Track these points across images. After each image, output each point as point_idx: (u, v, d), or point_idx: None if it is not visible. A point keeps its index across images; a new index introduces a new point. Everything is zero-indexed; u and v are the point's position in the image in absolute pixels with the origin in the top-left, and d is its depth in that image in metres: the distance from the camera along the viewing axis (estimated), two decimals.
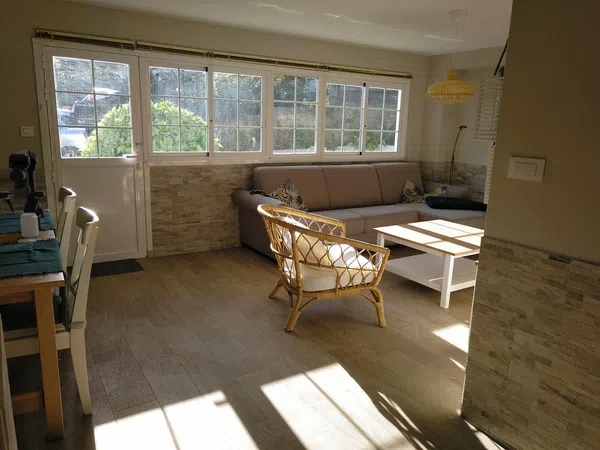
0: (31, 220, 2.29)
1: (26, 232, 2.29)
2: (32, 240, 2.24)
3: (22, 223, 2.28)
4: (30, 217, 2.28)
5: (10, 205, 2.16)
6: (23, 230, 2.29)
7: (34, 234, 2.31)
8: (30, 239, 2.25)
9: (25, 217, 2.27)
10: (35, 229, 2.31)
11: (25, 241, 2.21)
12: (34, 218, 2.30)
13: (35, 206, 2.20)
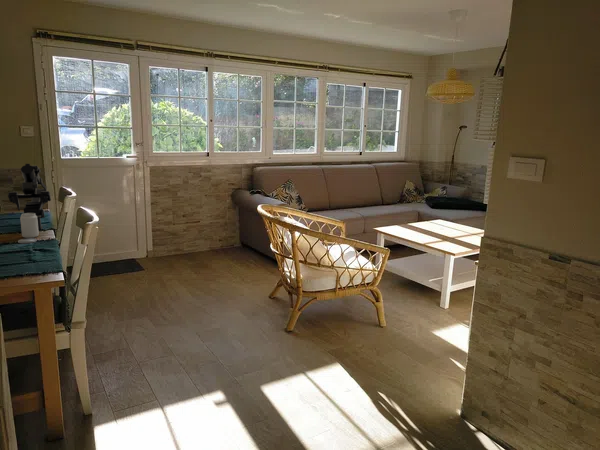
0: (31, 220, 2.29)
1: (26, 232, 2.29)
2: (32, 240, 2.24)
3: (22, 223, 2.28)
4: (30, 217, 2.28)
5: (17, 203, 2.32)
6: (23, 230, 2.29)
7: (34, 234, 2.31)
8: (30, 239, 2.25)
9: (25, 217, 2.27)
10: (35, 229, 2.31)
11: (25, 241, 2.21)
12: (34, 218, 2.30)
13: (40, 204, 2.35)
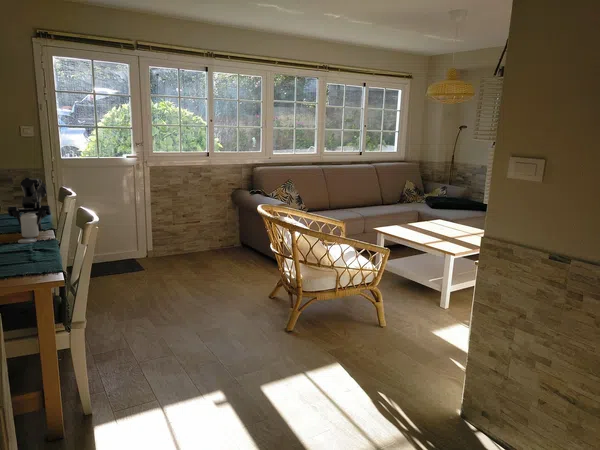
0: (31, 220, 2.29)
1: (26, 232, 2.29)
2: (32, 240, 2.24)
3: (22, 223, 2.28)
4: (30, 217, 2.28)
5: (18, 217, 2.29)
6: (23, 230, 2.29)
7: (34, 234, 2.31)
8: (30, 239, 2.25)
9: (25, 217, 2.27)
10: (35, 229, 2.31)
11: (25, 241, 2.21)
12: (34, 218, 2.30)
13: (38, 218, 2.32)
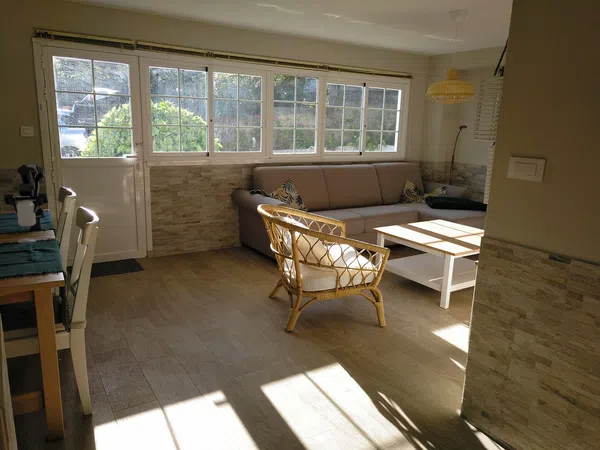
0: (28, 208, 2.22)
1: (22, 220, 2.22)
2: (32, 240, 2.24)
3: (18, 211, 2.21)
4: (27, 205, 2.22)
5: (14, 205, 2.23)
6: (19, 218, 2.22)
7: (31, 222, 2.24)
8: (30, 239, 2.25)
9: (22, 204, 2.21)
10: (32, 217, 2.24)
11: (25, 241, 2.21)
12: (31, 206, 2.23)
13: (35, 206, 2.26)
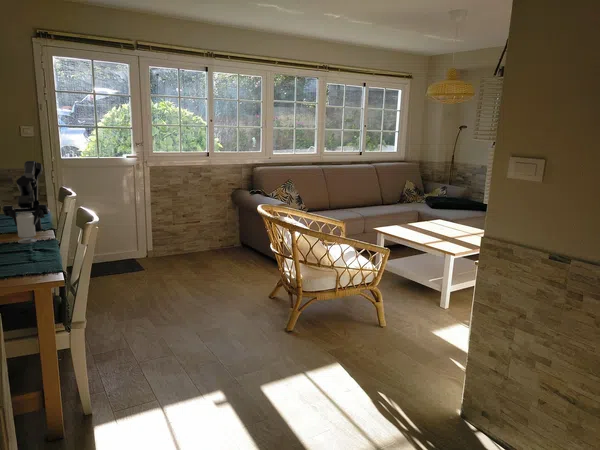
0: (27, 220, 2.19)
1: (22, 232, 2.19)
2: (32, 240, 2.24)
3: (18, 223, 2.19)
4: (26, 217, 2.19)
5: (14, 217, 2.20)
6: (19, 230, 2.19)
7: (31, 234, 2.22)
8: (30, 239, 2.25)
9: (21, 217, 2.18)
10: (32, 229, 2.22)
11: (25, 241, 2.21)
12: (31, 218, 2.20)
13: (35, 218, 2.23)
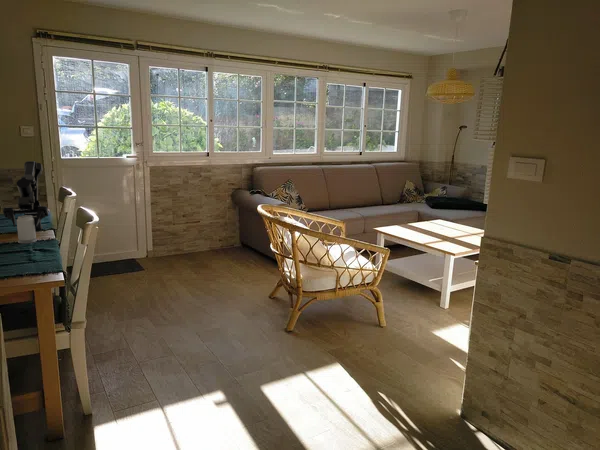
0: (28, 223, 2.20)
1: (22, 235, 2.20)
2: (32, 240, 2.24)
3: (18, 226, 2.19)
4: (27, 220, 2.19)
5: (12, 219, 2.20)
6: (19, 233, 2.20)
7: (31, 237, 2.22)
8: None
9: (21, 220, 2.18)
10: (32, 232, 2.22)
11: (25, 241, 2.21)
12: (31, 221, 2.21)
13: (37, 219, 2.23)
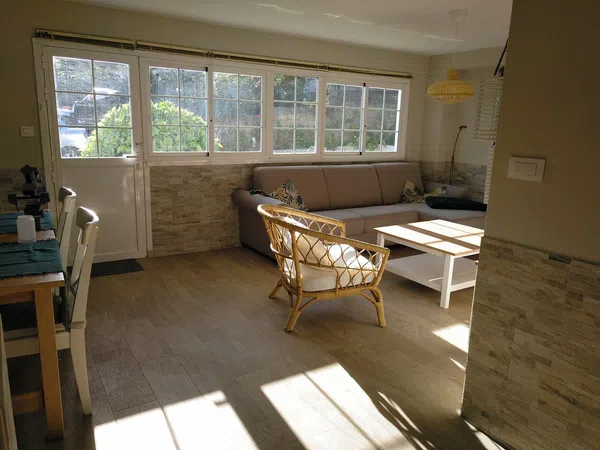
0: (28, 223, 2.20)
1: (22, 235, 2.20)
2: None
3: (18, 226, 2.19)
4: (27, 220, 2.19)
5: (16, 204, 2.30)
6: (19, 233, 2.20)
7: (31, 237, 2.22)
8: None
9: (22, 220, 2.19)
10: (32, 232, 2.22)
11: (25, 241, 2.21)
12: (31, 221, 2.21)
13: (39, 205, 2.34)
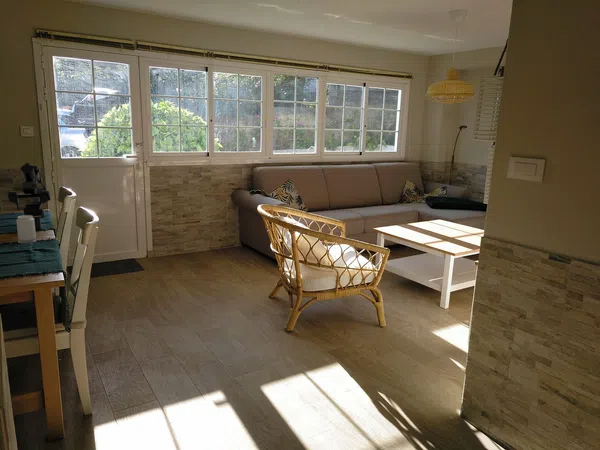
0: (28, 223, 2.20)
1: (22, 235, 2.20)
2: (32, 240, 2.24)
3: (18, 226, 2.19)
4: (27, 220, 2.19)
5: (16, 202, 2.31)
6: (19, 233, 2.20)
7: (31, 237, 2.22)
8: None
9: (21, 220, 2.18)
10: (32, 232, 2.22)
11: (25, 241, 2.21)
12: (31, 221, 2.21)
13: (40, 203, 2.35)
